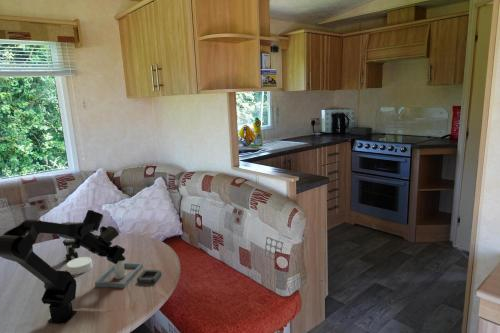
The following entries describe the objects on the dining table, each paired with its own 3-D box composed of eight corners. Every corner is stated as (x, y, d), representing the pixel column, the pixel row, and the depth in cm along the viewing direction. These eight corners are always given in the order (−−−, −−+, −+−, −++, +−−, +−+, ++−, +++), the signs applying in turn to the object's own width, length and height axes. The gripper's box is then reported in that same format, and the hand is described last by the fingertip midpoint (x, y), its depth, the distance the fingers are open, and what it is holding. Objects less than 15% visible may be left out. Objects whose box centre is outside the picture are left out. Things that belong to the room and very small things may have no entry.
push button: (63, 263, 155) (60, 242, 152) (61, 259, 159) (58, 239, 157) (79, 259, 159) (76, 238, 156) (77, 255, 163) (74, 235, 161)
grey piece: (154, 287, 132) (153, 281, 132) (134, 287, 133) (133, 280, 133) (164, 274, 142) (163, 268, 141) (145, 273, 143) (145, 268, 142)
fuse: (122, 279, 138) (119, 251, 136) (112, 279, 139) (109, 251, 136) (127, 274, 142) (124, 247, 140) (118, 273, 143) (114, 246, 140)
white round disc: (80, 276, 143) (78, 268, 142) (61, 273, 146) (60, 265, 146) (97, 265, 152) (96, 257, 152) (79, 262, 156) (78, 255, 155)
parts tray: (124, 289, 132) (124, 283, 131) (95, 288, 134) (94, 282, 133) (143, 268, 147) (142, 263, 147) (116, 267, 149) (116, 262, 149)
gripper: (117, 227, 127) (145, 245, 137) (91, 218, 138) (119, 234, 149) (99, 256, 122) (130, 271, 133) (74, 243, 133) (104, 258, 144)
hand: (121, 257), depth 140 cm, fingers open, 5 cm apart
